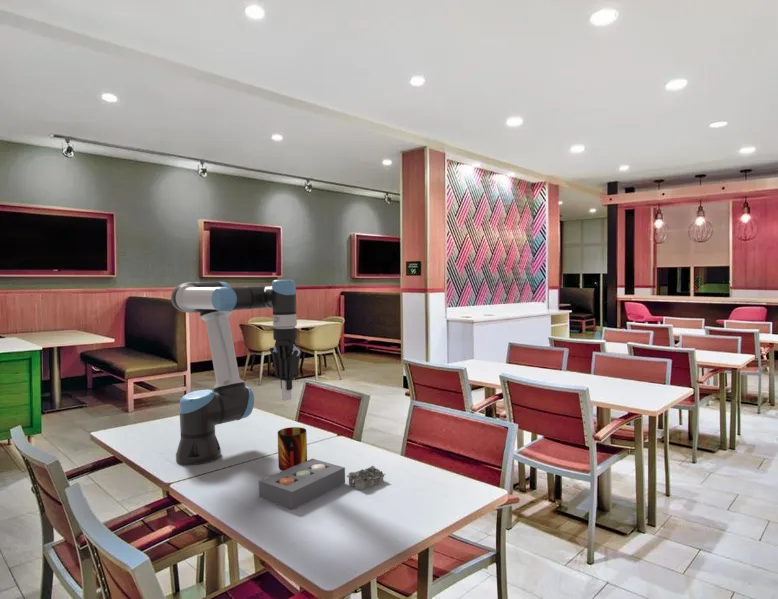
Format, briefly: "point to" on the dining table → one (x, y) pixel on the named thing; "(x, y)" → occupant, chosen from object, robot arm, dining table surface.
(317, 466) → the cream button
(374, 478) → the egg carton
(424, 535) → the dining table surface
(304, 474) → the sage button
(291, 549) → the dining table surface
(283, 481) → the rust button
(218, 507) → the dining table surface
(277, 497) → the console
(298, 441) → the mug
